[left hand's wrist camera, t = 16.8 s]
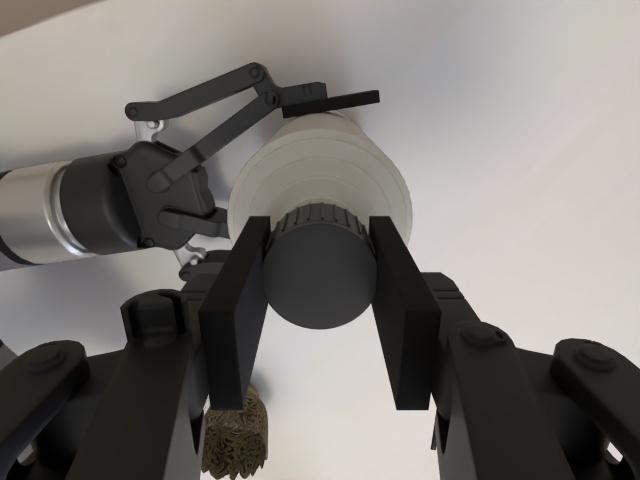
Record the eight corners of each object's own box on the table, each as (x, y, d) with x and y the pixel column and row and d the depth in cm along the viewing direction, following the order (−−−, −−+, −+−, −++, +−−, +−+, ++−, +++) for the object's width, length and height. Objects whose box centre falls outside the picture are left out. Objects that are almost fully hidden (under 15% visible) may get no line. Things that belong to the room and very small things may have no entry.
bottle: (383, 132, 33) (495, 211, 12) (342, 216, 36) (374, 399, 15) (294, 91, 32) (244, 96, 11) (259, 180, 35) (164, 325, 14)
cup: (287, 405, 45) (280, 468, 37) (232, 425, 46) (214, 490, 38) (256, 357, 42) (243, 415, 35) (199, 380, 43) (174, 440, 36)
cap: (247, 258, 15) (234, 287, 12) (311, 178, 13) (309, 196, 11) (326, 314, 16) (328, 350, 13) (393, 244, 14) (406, 271, 12)
